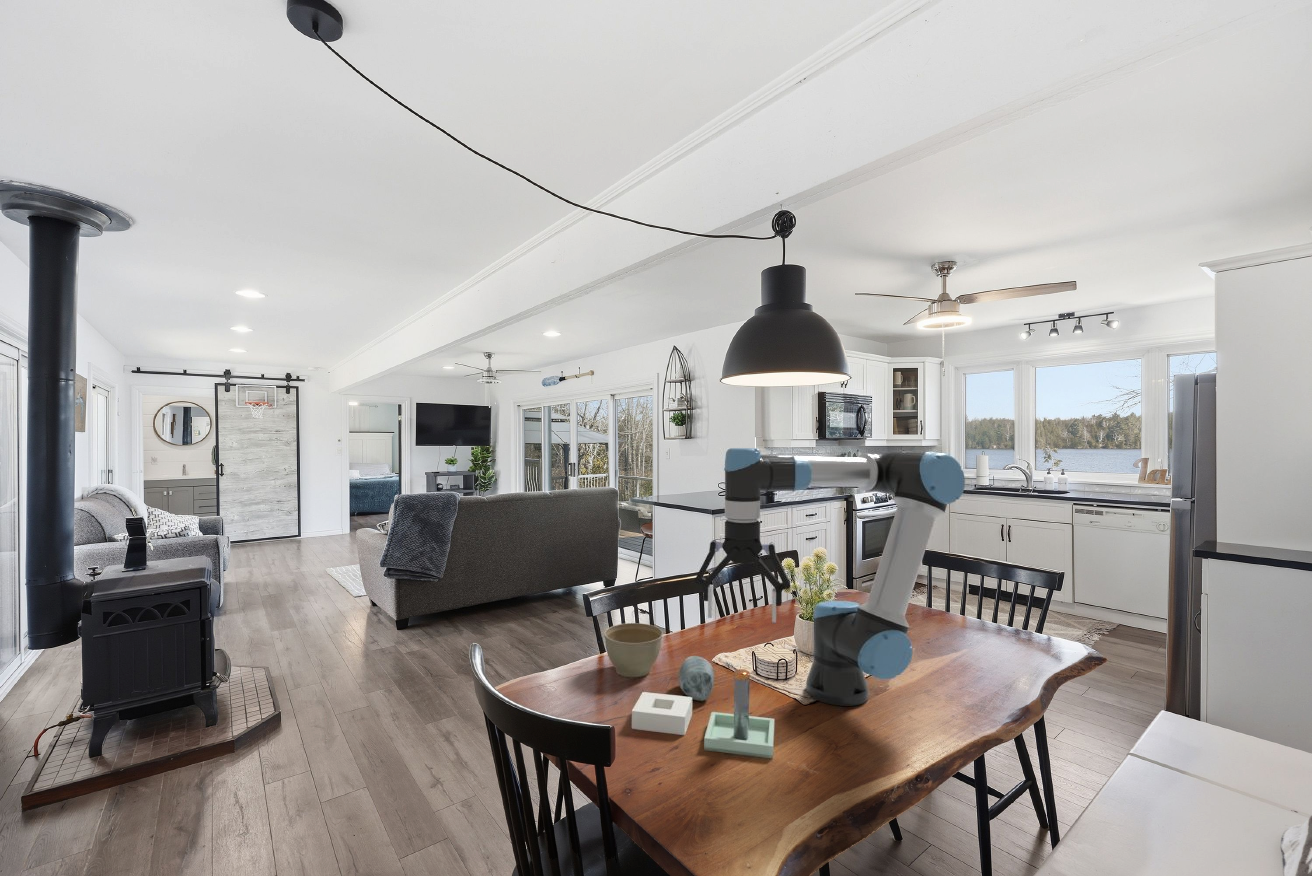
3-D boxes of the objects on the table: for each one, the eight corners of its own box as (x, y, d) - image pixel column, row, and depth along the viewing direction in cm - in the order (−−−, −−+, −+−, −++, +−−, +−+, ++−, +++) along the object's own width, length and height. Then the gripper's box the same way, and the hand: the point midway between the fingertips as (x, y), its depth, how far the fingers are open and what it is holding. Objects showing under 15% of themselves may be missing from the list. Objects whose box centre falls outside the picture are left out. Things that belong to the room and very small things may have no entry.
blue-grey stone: (722, 693, 143) (703, 653, 146) (686, 710, 143) (668, 670, 146) (722, 683, 156) (705, 647, 159) (690, 700, 156) (673, 663, 159)
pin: (749, 734, 129) (750, 670, 128) (747, 741, 126) (749, 676, 125) (734, 732, 129) (735, 668, 129) (732, 739, 126) (733, 674, 126)
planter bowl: (593, 677, 159) (593, 637, 159) (619, 657, 174) (619, 620, 174) (648, 687, 153) (649, 645, 153) (670, 665, 168) (670, 627, 168)
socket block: (692, 714, 139) (692, 697, 139) (684, 735, 129) (684, 717, 129) (642, 708, 142) (642, 691, 142) (631, 728, 132) (631, 710, 132)
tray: (774, 730, 132) (774, 718, 132) (772, 758, 120) (772, 746, 120) (711, 722, 135) (711, 711, 135) (704, 750, 123) (704, 738, 123)
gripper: (801, 519, 128) (801, 617, 128) (688, 515, 134) (687, 609, 134) (802, 524, 121) (801, 628, 121) (682, 520, 126) (681, 619, 127)
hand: (742, 618), depth 127 cm, fingers open, 13 cm apart
